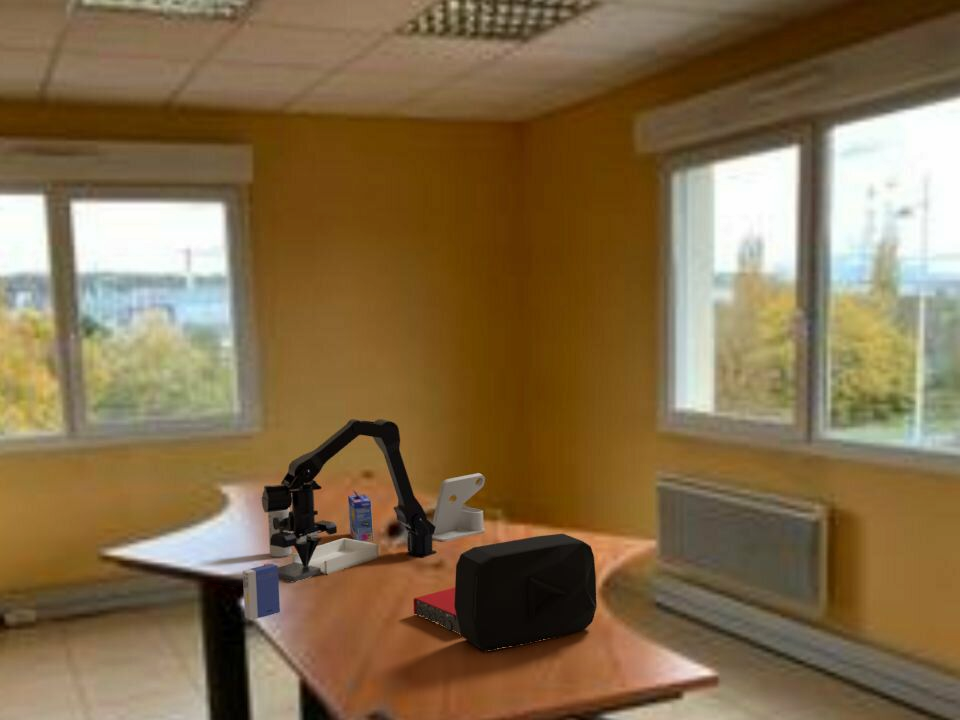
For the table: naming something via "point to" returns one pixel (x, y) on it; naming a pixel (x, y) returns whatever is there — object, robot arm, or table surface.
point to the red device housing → (438, 608)
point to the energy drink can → (276, 550)
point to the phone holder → (457, 509)
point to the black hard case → (525, 590)
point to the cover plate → (297, 572)
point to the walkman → (261, 591)
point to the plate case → (340, 554)
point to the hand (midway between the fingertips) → (305, 565)
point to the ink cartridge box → (360, 517)
